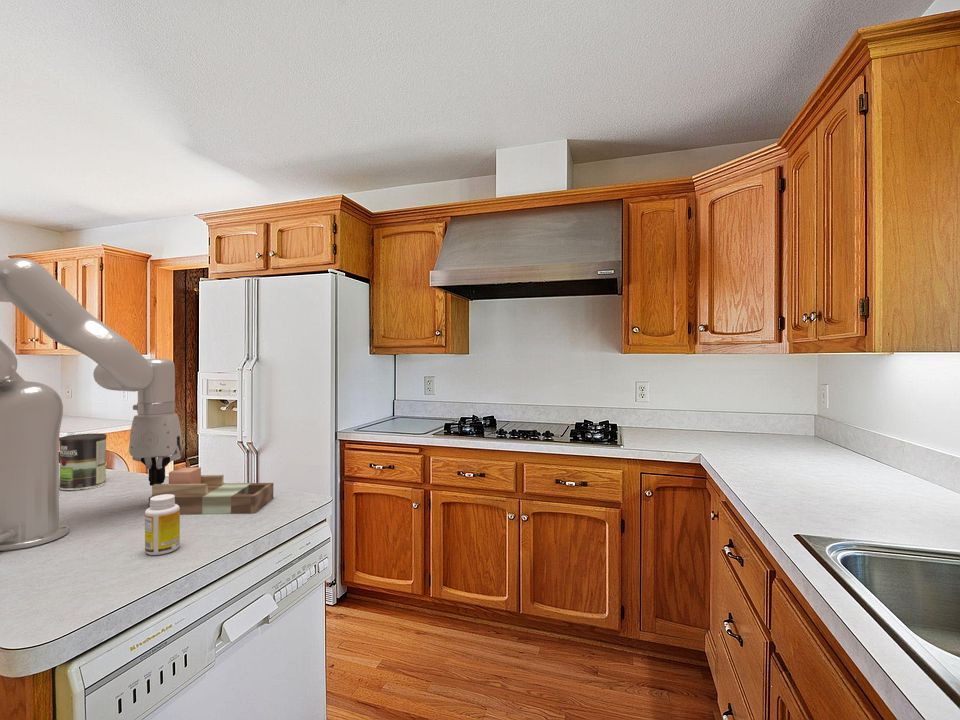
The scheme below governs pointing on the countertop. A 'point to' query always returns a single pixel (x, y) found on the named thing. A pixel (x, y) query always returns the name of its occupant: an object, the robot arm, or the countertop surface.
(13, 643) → the countertop surface
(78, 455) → the coffee can
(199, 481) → the block
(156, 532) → the supplement bottle
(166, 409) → the robot arm
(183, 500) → the brown rectangular tray
